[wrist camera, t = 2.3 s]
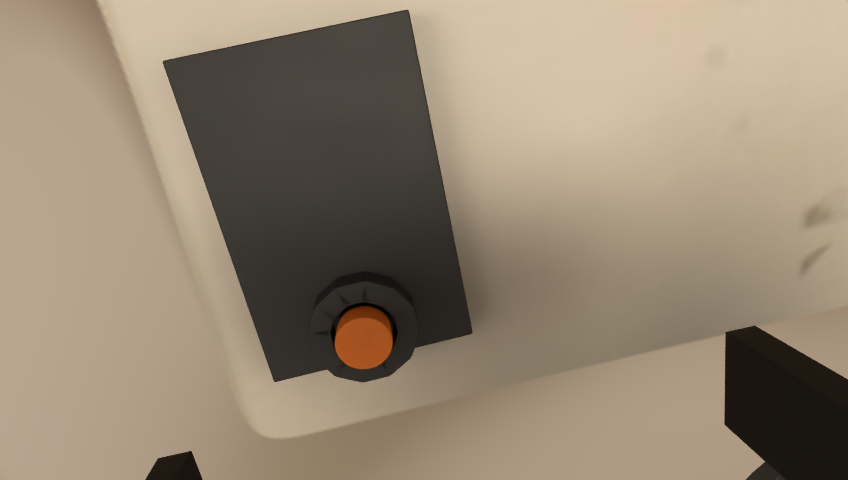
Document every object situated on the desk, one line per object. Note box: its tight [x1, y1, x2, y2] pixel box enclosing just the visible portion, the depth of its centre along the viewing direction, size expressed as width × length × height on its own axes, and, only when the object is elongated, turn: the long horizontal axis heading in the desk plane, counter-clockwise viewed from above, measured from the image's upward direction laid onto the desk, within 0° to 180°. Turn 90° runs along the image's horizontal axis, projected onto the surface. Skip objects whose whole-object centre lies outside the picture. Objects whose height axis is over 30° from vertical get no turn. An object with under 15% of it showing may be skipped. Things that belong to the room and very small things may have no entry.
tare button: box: [335, 306, 393, 369], centre depth 26 cm, size 3×3×2 cm
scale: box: [163, 10, 473, 382], centre depth 26 cm, size 18×12×3 cm, turn 12°
